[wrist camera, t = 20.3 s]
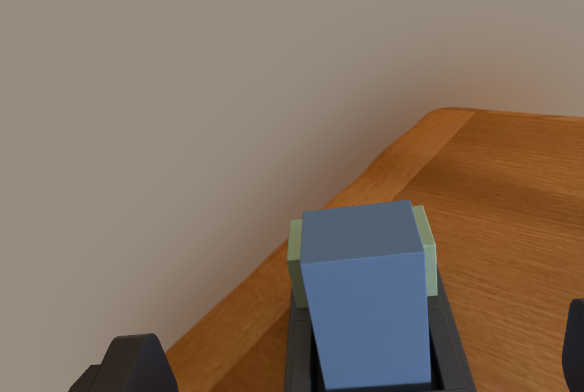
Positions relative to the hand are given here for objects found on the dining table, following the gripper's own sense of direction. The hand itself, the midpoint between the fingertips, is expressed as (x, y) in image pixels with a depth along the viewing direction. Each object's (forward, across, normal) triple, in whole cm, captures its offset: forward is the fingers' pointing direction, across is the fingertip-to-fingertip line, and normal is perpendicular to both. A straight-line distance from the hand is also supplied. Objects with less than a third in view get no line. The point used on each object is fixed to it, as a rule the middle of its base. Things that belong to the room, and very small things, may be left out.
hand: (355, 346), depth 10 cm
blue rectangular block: (+11, 0, +15) cm, 18 cm away
